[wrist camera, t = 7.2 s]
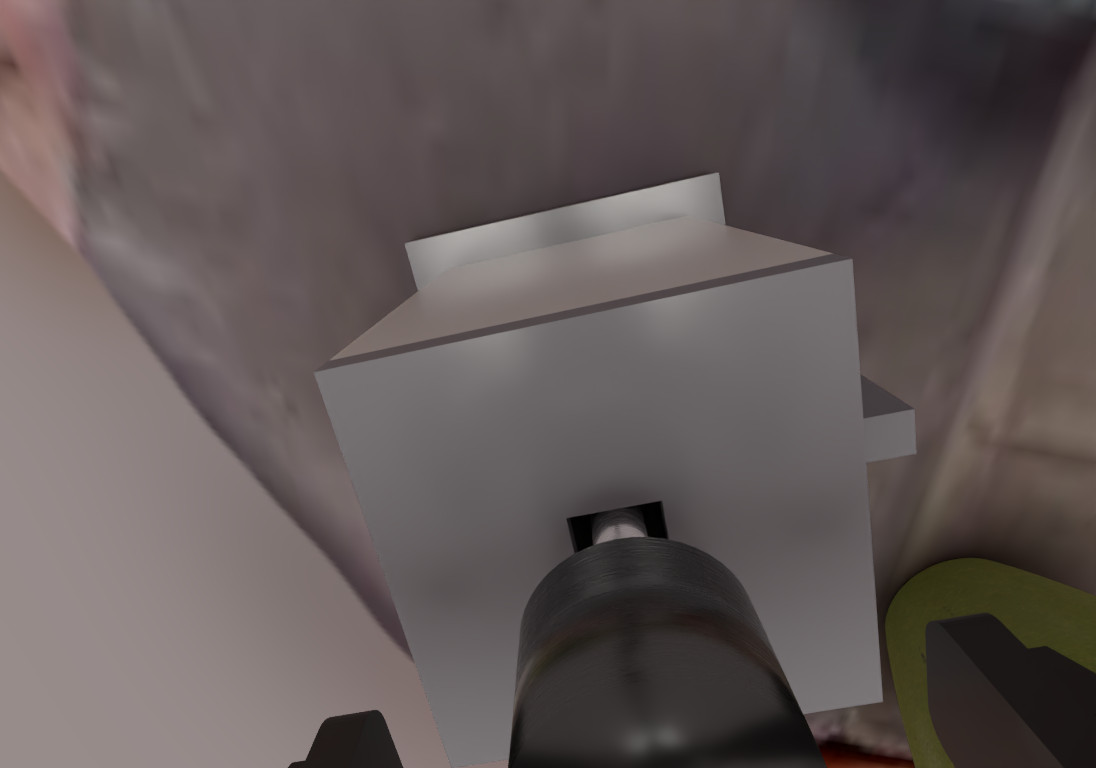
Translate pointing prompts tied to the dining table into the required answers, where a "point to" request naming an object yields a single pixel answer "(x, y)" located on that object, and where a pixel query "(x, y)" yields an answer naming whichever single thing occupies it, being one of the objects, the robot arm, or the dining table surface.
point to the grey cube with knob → (616, 434)
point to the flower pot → (969, 588)
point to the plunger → (650, 663)
